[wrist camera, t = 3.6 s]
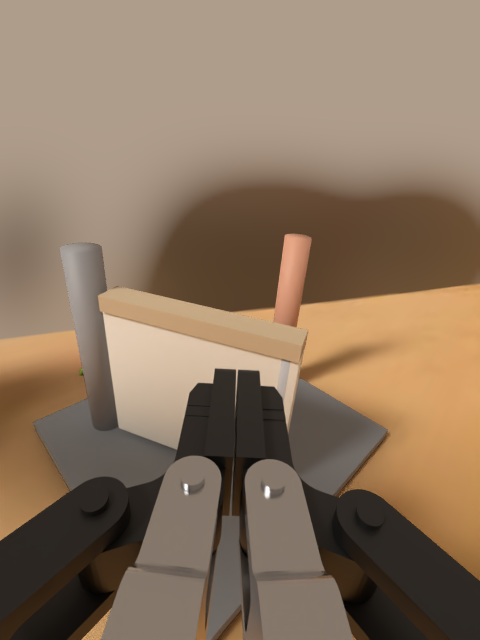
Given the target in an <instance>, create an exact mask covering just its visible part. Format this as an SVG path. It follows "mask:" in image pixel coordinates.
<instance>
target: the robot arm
mask: <svg viewBox="0 0 480 640" xmlns="http://www.w3.org/2000/svg"><path fill="white" fill-rule="evenodd" d="M235 393H236V404H235ZM232 471H233V489H232V516H239V541H238V557H239V574H240V591H241V609H242V626H243V640H353V637H352V634H353V636H354V637H355V638H356V639H357V640H480V581H479V580H478V579H477V578H475V577H474V576H473V575H472V574H471V573H470V572H468V571H467V570H466V569H465V568H464V567H463V566H461V565H460V564H459V563H458V562H457V561H455V560H454V559H453V558H452V557H451V556H450V555H448V554H447V553H446V552H445V551H444V550H443V549H441V548H440V547H439V546H438V545H437V544H436V543H434V542H433V541H432V540H431V539H430V538H428V537H427V536H426V535H425V534H424V533H423V532H421V531H420V530H419V529H418V528H417V527H416V526H414V525H413V524H412V523H411V522H410V521H408V520H407V519H406V518H405V517H404V516H403V515H401V514H400V513H399V512H398V511H397V510H396V509H394V508H393V507H392V506H391V505H390V504H388V503H387V502H386V501H385V500H384V499H382V498H381V497H379V496H378V495H376V494H374V493H372V492H369V491H366V490H360V489H355V490H350V491H347V492H345V493H344V494H343V495H342V496H341V497H340V498H338V497H336V496H333V495H330V494H327V493H324V492H322V491H319V490H317V489H315V488H313V487H311V486H309V485H308V484H307V483H305V482H304V481H303V480H302V479H301V478H300V476H299V475H298V474H297V472H296V470H295V468H294V466H293V462H292V456H291V449H290V443H289V436H288V430H287V424H286V417H285V412H284V404H283V398H282V396H281V395H280V393H279V392H278V391H277V389H276V388H275V387H272V386H261V384H260V372H259V371H258V370H239V369H238V375H237V390H236V369H219V368H215V371H214V379H213V383H197V385H196V386H195V387H194V388H193V389H192V390H191V392H190V393H189V397H188V402H187V407H186V411H185V417H184V420H183V425H182V430H181V434H180V439H179V443H178V448H177V453H176V457H175V460H174V462H173V464H172V465H171V466H170V467H169V468H168V470H167V471H166V473H164V474H163V475H162V476H160V477H159V478H157V479H155V480H153V481H151V482H148V483H144V484H140V485H136V486H132V487H129V488H126V487H125V485H124V484H123V483H122V482H121V481H120V480H118V479H116V478H113V477H107V476H104V477H96V478H93V479H90V480H87V481H85V482H83V483H82V484H80V485H79V486H77V487H76V488H74V489H73V490H72V491H70V492H69V493H67V494H66V495H64V496H63V497H62V498H60V499H59V500H57V501H56V502H55V503H53V504H52V505H50V506H49V507H48V508H46V509H45V510H43V511H42V512H40V513H39V514H38V515H36V516H35V517H33V518H32V519H31V520H29V521H28V522H26V523H25V524H23V525H22V526H21V527H19V528H18V529H16V530H15V531H14V532H12V533H11V534H9V535H8V536H7V537H5V538H4V539H2V540H1V541H0V640H81V639H82V638H83V637H84V636H85V635H86V634H87V633H88V632H89V631H90V630H91V629H92V628H93V627H94V626H95V625H96V624H97V623H98V621H99V620H100V619H101V618H102V617H103V616H104V615H105V614H106V613H107V612H108V611H109V610H110V609H111V608H112V609H111V612H110V615H109V617H108V620H107V623H106V626H105V629H104V632H103V635H102V638H101V640H206V634H207V626H208V619H209V611H210V604H211V596H212V589H213V581H214V574H215V566H216V559H217V551H218V545H219V543H220V539H221V530H222V516H229V512H230V499H231V485H232Z"/></svg>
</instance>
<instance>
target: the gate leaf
mask: <svg viewBox="0 0 480 640" xmlns="http://www.w3.org/2000/svg"><path fill="white" fill-rule="evenodd" d="M98 301H99V308H100V311H101V312H103V318H104V325H105V332H106V339H107V347H108V354H109V361H110V368H111V376H112V383H113V390H114V397H115V404H116V412H117V419H118V426H119V428H120V429H123V430H125V431H128V432H131V433H133V434H136V435H139V436H141V437H144V438H147V439H150V440H152V441H155V442H158V443H160V444H163V445H166V446H168V447H171V448H174V449H176V450H177V448H178V443H179V439H180V434H181V430H182V425H183V420H184V417H185V411H186V407H187V402H188V397H189V393H190V392H191V390H192V389H193V388H194V387H195V386H196V385H197V383H213V379H214V371H215V368H219V369H236V390H237V375H238V369H239V370H258V371H259V372H260V384H261V386H272V387H275V388H276V389H277V391H278V392H279V393H280V395H281V396H282V398H283V404H284V412H285V417H286V424H287V430H288V432H289V427H290V421H291V416H292V411H293V406H294V400H295V395H296V390H297V385H298V379H299V374H300V369H301V364H302V359H303V353H304V348H305V345H306V340H307V334H308V330H305V329H301V328H296V327H292V326H288V325H283V324H279V323H275V322H271V321H266V320H262V319H258V318H253V317H249V316H245V315H240V314H236V313H232V312H227V311H222V310H219V309H214V308H210V307H206V306H201V305H197V304H193V303H188V302H184V301H180V300H175V299H171V298H167V297H162V296H158V295H154V294H150V293H145V292H140V291H136V290H132V289H127V288H124V287H119V286H116V287H114V288H112V289H110V290H108V291H106V292H104V293H102V294H100V295H98ZM235 404H236V393H235Z"/></svg>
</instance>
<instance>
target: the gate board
mask: <svg viewBox="0 0 480 640" xmlns="http://www.w3.org/2000/svg"><path fill="white" fill-rule="evenodd" d="M311 240H312V238H311V237H309V236H306V235H301V234H287V235H285V239H284V247H283V254H282V262H281V269H280V277H279V284H278V292H277V299H276V307H275V314H274V322H275V323H279V324H283V325H288V326H292V327H297V322H298V316H299V310H300V304H301V298H302V292H303V287H304V280H305V275H306V269H307V263H308V257H309V252H310V246H311ZM60 251H61V257H62V262H63V268H64V273H65V279H66V284H67V289H68V294H69V300H70V305H71V310H72V316H73V321H74V326H75V332H76V337H77V343H78V348H79V353H80V359H81V364H82V369H83V375H84V380H85V385H86V391H87V396H88V398H87V399H85V400H82V401H80V402H78V403H76V404H73V405H71V406H69V407H66V408H64V409H62V410H60V411H57V412H55V413H53V414H50V415H48V416H46V417H44V418H41V419H39V420H37V421H34V422H33V424H34V427H35V430H36V432H37V434H38V435H39V437H40V439H41V441H42V442H43V444H44V446H45V448H46V449H47V451H48V453H49V455H50V456H51V458H52V460H53V462H54V463H55V465H56V467H57V469H58V470H59V472H60V474H61V476H62V478H63V479H64V481H65V483H66V485H67V486H68V488H69V490H70V491H72V490H73V489H74V488H76V487H77V486H79V485H80V484H82V483H83V482H85V481H87V480H90V479H93V478H96V477H104V476H107V477H113V478H116V479H118V480H120V481H121V482H122V483H123V484H124V485H125V487H126V488H129V487H132V486H136V485H140V484H144V483H148V482H151V481H153V480H155V479H157V478H159V477H160V476H162V475H163V474H164V473H166V471H167V470H168V468H169V467H170V466H171V465H172V464H173V462H174V460H175V457H176V453H177V450H176V449H174V448H171V447H168V446H166V445H163V444H160V443H158V442H155V441H152V440H150V439H147V438H144V437H141V436H139V435H136V434H133V433H131V432H128V431H125V430H123V429H120V428H119V426H118V419H117V412H116V404H115V397H114V390H113V383H112V376H111V368H110V361H109V354H108V347H107V339H106V332H105V325H104V318H103V312H101V311H100V308H99V301H98V295H100V294H102V293H104V292H106V291H107V286H106V278H105V270H104V262H103V255H102V248H101V246H100V245H98V244H94V243H73V244H68V245H64V246H62V247H61V248H60ZM387 431H388V430H387V429H385V428H384V427H382V426H380V425H378V424H377V423H375V422H373V421H372V420H370V419H368V418H367V417H365V416H363V415H362V414H360V413H358V412H357V411H355V410H353V409H352V408H350V407H348V406H347V405H345V404H343V403H342V402H340V401H338V400H336V399H335V398H333V397H331V396H330V395H328V394H326V393H325V392H323V391H321V390H320V389H318V388H316V387H315V386H313V385H311V384H310V383H308V382H306V381H305V380H303V379H301V378H300V377H299V379H298V385H297V390H296V395H295V400H294V406H293V411H292V416H291V421H290V427H289V432H288V436H289V443H290V449H291V456H292V462H293V466H294V468H295V470H296V472H297V474H298V475H299V476H300V478H301V479H302V480H303V481H304V482H305V483H307V484H308V485H309V486H311V487H313V488H315V489H317V490H319V491H322V492H324V493H327V494H330V495H333V496H337V495H338V493H339V492H340V491H341V490H342V489H343V487H344V486H345V485H346V484H347V483H348V481H349V480H350V479H351V478H352V477H353V475H354V474H355V473H356V472H357V471H358V469H359V468H360V467H361V466H362V465H363V463H364V462H365V461H366V460H367V459H368V457H369V456H370V455H371V454H372V453H373V451H374V450H375V449H376V448H377V447H378V445H379V444H380V443H381V442H382V441H383V439H384V438H385V436H386V434H387ZM232 489H233V471H232V485H231V499H230V512H229V516H222V530H221V539H220V543H219V545H218V551H217V559H216V566H215V574H214V581H213V589H212V596H211V604H210V611H209V619H208V626H207V634H206V640H217V639H218V637H219V636H220V635H221V634H222V633H223V631H224V630H225V629H226V628H227V627H228V625H229V624H230V623H231V622H232V621H233V619H234V618H235V617H236V616H237V615H238V613H239V612H240V611H241V610H242V609H241V591H240V574H239V557H238V541H239V516H232Z"/></svg>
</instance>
